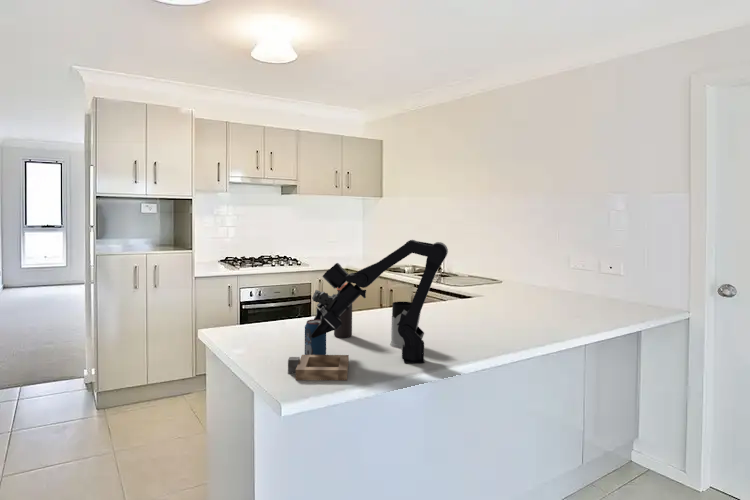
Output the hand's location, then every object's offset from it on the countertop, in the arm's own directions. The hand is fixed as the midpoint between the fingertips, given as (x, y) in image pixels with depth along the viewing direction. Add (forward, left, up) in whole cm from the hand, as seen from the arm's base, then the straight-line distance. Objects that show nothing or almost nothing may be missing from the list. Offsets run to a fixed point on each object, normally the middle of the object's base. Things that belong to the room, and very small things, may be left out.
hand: (310, 333), depth 164 cm
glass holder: (-30, -19, -8) cm, 37 cm away
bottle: (-9, -28, -8) cm, 31 cm away
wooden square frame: (-4, +14, -8) cm, 16 cm away
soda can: (-2, 0, -8) cm, 8 cm away
